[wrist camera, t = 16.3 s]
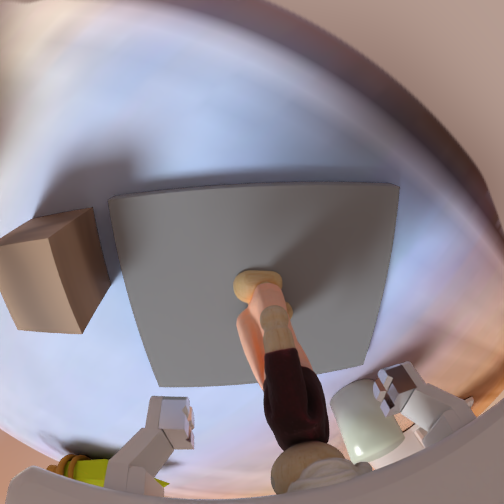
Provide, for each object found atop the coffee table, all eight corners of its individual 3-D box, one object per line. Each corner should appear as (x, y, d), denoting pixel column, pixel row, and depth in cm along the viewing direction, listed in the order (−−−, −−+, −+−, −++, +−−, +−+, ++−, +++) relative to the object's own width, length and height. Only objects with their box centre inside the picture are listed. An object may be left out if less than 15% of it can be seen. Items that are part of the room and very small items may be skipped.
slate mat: (390, 183, 15) (399, 186, 14) (358, 356, 21) (363, 364, 20) (114, 195, 13) (107, 199, 13) (161, 377, 19) (159, 386, 18)
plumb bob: (150, 447, 25) (16, 440, 21) (162, 512, 18) (16, 489, 14) (175, 459, 30) (50, 458, 27) (186, 512, 23) (53, 501, 20)
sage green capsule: (382, 373, 22) (413, 428, 16) (369, 403, 24) (393, 453, 18) (335, 385, 22) (361, 448, 15) (326, 414, 24) (345, 469, 17)
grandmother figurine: (202, 273, 15) (194, 537, 3) (265, 239, 14) (373, 501, 3) (266, 358, 18) (307, 539, 6) (317, 333, 17) (393, 509, 6)
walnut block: (93, 206, 14) (47, 238, 9) (111, 284, 16) (82, 334, 11) (32, 218, 13) (-15, 248, 9) (53, 286, 15) (18, 329, 11)
